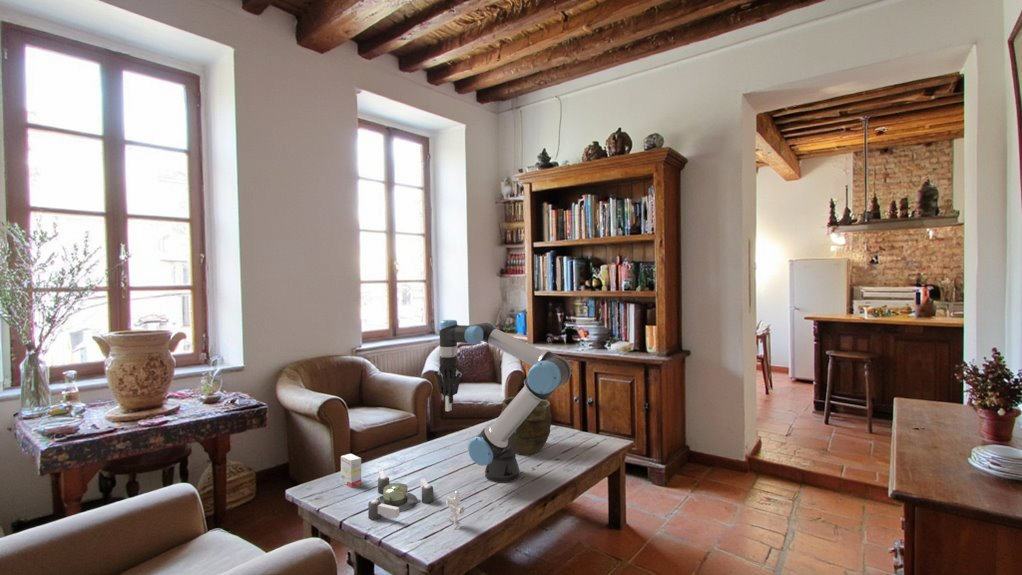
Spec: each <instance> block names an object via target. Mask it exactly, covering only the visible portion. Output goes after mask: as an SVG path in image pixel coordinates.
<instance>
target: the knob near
mask: <svg viewBox="0 0 1022 575" xmlns="http://www.w3.org/2000/svg"><path fill="white" fill-rule="evenodd" d="M419 482H420V489H421V503H422V504H426V505H427V504H431V503H433V502H434V486H433V485H430V484H429V483H428V481H427V479H426V478H425V477H423V478H420V481H419Z"/></svg>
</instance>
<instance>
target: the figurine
mask: <svg viewBox="0 0 1022 575" xmlns="http://www.w3.org/2000/svg"><path fill="white" fill-rule="evenodd" d="M445 505H447V506H448V509H449V511H450V512H451V513H450V514H448V516H445V519H446V521H447V522H451V518H452V517H453V526H455V527H454V529H453V530H459V529H461V525H460V524H457V521H458V516H459V515H458V513H459V514H460V516H463V515H465V510H466V507H465V506H461V507H459V506H460V505H461V498H460V491H457V490H456V491H455V492H454V496H453V497H452V496H451V495H447V498H446V502H445ZM457 512H458V513H457Z"/></svg>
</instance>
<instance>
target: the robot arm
mask: <svg viewBox="0 0 1022 575" xmlns="http://www.w3.org/2000/svg"><path fill="white" fill-rule="evenodd" d="M438 331H439V332H438V334H439V369H438V370H436V371H434V375H435V376H436V381H437V386H438V390H439V393H440V394H441V395H443V403H444V404H445V408H444V410H445V412H450V411H452V409H453V408H452V404H453V403H454V395H457V394H458V391H459V387H460V382H461V378H462V376H463V374H464V373H463V372H461V371H459V369H458V357H457V355H458V344H459V343H460V344H467V345H468V344H469V345H478V344H480V343H482V342H484V343H486V344H488V345H490V346H492V347H494V348H496V349H498V350H500V351H502V352H504V353H506V354H508V355H510V356H512V357H514V358H516V359H518V360H520V361H522V362H524V363H526V364H527V365H530V366H531V367H530V368H529V370H528V373H527V375H526V378H524V380H523V384H524V385H523V387H522V388H521V390H520V391H519V392H518V393H517V394H516V396H514V397H515V398H514V399H513V400H512V401H511V403H510V404H509V405H508V406H507V407H506V409H505V410H504V411H503V412H502V411H501V412H502V413H500V414H499V416H498V417H497V418H496V419H495V420H494V421H492V422H489V424H486V425H485V427H484V428H483V429H482V430H481V432H479V433H478V435H476V436H474V437H472V438H471V439H470V441H469V442H468V446H467V450H468V455H469V457H470V459H471V460H472V461H473V463H474V464H477V465H478V466H483V467H484V466H485V470H484V477H485V479H486V480H489V481H491V482H494V483H509V482H513V481H516V480H518V479H519V478H520V472H521V470H520V467H519V464H518V461H517V457H516V456H517V454H516V429H517V428H518V427H519V426H520V424H521V423H522V422H523V421H524V420H525V419H526V418H527V416H528V415H529V414H530V413H531V412H532V411H533V409H534V408H535V407H536V406H537V405H538V404H539V402H540V401H541V400H543V401H545V400H548V399H549V398H550V397H551V396H552V395H553V394H554V392H556V390H558V388H561V387H562V386H564V385H566V384H567V383H568V382H569V380H570V378H571V375H572V369H571V366H570V363H569V362H568V361H567V360H566V359H565V358H564V357H562V356H560V355H558V354H556V353H553V352H551V351H549V350H547V351H544V350H542V349H540V348H538V347H535V346H534V345H531V344H528V342H525V341H524V340H521V339H519V338H517V337H514V336H513V335H510V334H509V333H506V332H504V331H502V330H500V329H498V328H497V327H496V326H495V325H494V324H493V323H491V322H482V323H476V324H469V325H461V324H460V325H459V324H458V320H456V319H442V320H440V322H439V330H438ZM440 394H439V395H440Z"/></svg>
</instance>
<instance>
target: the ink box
mask: <svg viewBox="0 0 1022 575" xmlns="http://www.w3.org/2000/svg"><path fill="white" fill-rule="evenodd" d="M340 485H345V486H347V487H349V488H352V489H353V488H355V487H358V486H361V485H362V458H361V457H359V456H357V455H355V454H353V453H347V454H343V455H341V456H340Z"/></svg>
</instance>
